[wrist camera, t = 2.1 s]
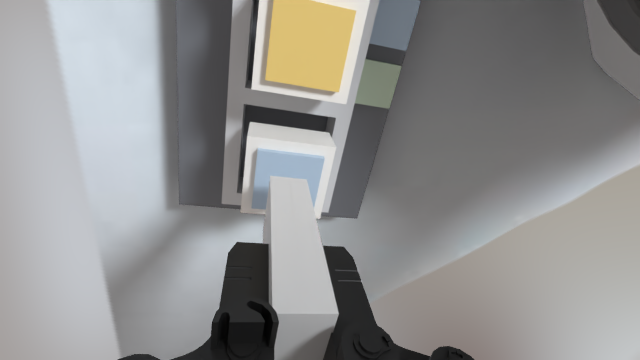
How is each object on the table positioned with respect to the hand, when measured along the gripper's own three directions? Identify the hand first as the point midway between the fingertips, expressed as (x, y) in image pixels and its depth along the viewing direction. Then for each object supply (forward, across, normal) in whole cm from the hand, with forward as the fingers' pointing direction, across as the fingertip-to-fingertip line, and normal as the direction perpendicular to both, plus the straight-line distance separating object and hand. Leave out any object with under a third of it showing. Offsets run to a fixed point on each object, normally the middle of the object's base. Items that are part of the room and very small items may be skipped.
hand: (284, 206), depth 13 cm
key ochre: (+4, 0, +6) cm, 7 cm away
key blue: (+4, 0, 0) cm, 4 cm away
